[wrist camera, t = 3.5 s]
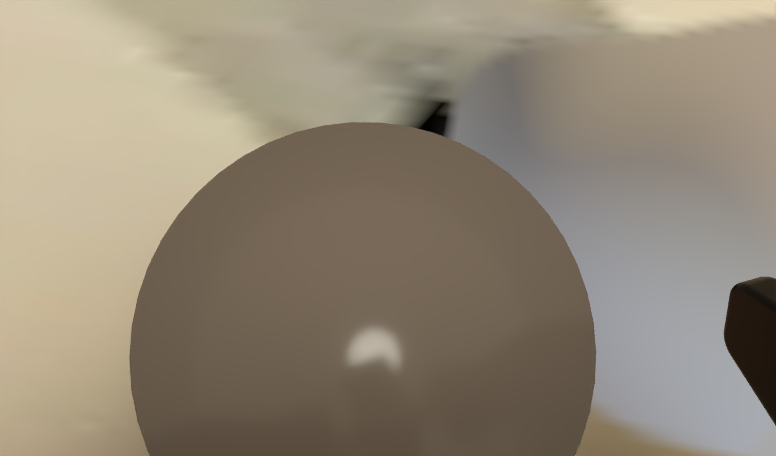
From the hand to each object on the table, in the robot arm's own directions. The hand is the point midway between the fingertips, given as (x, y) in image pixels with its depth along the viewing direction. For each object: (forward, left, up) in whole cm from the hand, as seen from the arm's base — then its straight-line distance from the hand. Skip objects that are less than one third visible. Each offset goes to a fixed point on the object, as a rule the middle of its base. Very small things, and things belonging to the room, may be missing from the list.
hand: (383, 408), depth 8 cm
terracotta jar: (0, +1, -8) cm, 8 cm away
